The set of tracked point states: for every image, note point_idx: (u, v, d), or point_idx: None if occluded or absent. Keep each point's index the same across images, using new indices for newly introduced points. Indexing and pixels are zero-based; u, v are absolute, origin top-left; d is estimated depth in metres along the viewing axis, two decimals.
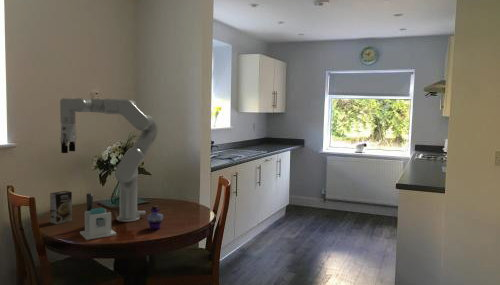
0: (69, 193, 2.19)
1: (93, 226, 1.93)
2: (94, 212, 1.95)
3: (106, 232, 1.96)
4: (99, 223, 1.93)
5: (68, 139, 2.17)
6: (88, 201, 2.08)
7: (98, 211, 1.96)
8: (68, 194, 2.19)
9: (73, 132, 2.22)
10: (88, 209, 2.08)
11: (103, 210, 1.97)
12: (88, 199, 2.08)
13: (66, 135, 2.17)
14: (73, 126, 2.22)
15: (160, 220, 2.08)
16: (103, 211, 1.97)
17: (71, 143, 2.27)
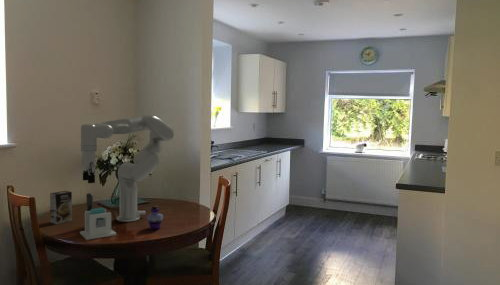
0: (69, 193, 2.19)
1: (93, 226, 1.93)
2: (94, 212, 1.95)
3: (106, 232, 1.96)
4: (99, 223, 1.93)
5: None
6: (88, 201, 2.08)
7: (98, 211, 1.96)
8: (68, 194, 2.19)
9: (83, 160, 2.06)
10: (88, 209, 2.08)
11: (103, 210, 1.97)
12: (88, 199, 2.08)
13: None
14: (83, 154, 2.06)
15: (160, 220, 2.08)
16: (103, 211, 1.97)
17: None
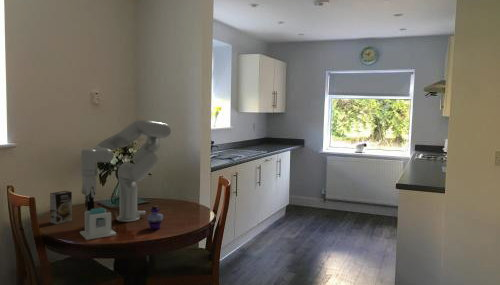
0: (69, 193, 2.19)
1: (93, 226, 1.93)
2: (94, 212, 1.95)
3: (106, 232, 1.96)
4: (99, 223, 1.93)
5: None
6: None
7: (98, 211, 1.96)
8: (68, 194, 2.19)
9: (83, 185, 2.07)
10: (88, 209, 2.08)
11: (103, 210, 1.97)
12: None
13: None
14: (83, 179, 2.07)
15: (160, 220, 2.08)
16: (103, 211, 1.97)
17: None
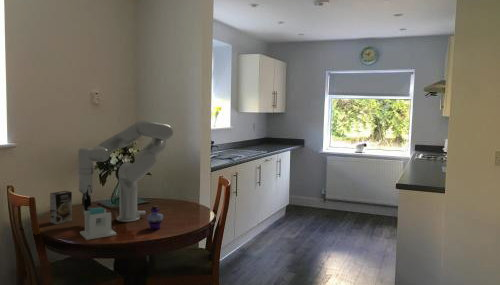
0: (69, 193, 2.19)
1: (93, 226, 1.93)
2: (93, 211, 1.96)
3: (106, 232, 1.96)
4: None
5: None
6: None
7: (97, 210, 1.97)
8: (68, 194, 2.19)
9: (80, 183, 2.12)
10: (85, 207, 2.13)
11: (102, 209, 1.99)
12: None
13: None
14: (80, 177, 2.12)
15: (160, 220, 2.08)
16: (102, 210, 1.99)
17: None
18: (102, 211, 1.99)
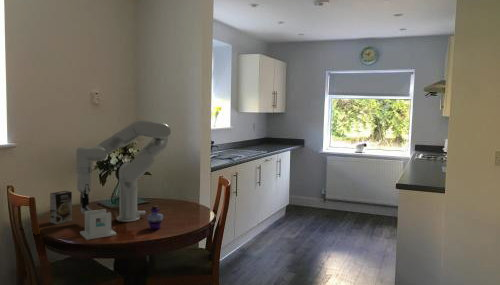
0: (69, 193, 2.19)
1: (93, 226, 1.93)
2: None
3: (106, 232, 1.96)
4: None
5: None
6: None
7: None
8: (68, 194, 2.19)
9: (78, 182, 2.15)
10: (83, 205, 2.16)
11: None
12: None
13: None
14: (78, 176, 2.15)
15: (160, 220, 2.08)
16: None
17: None
18: None
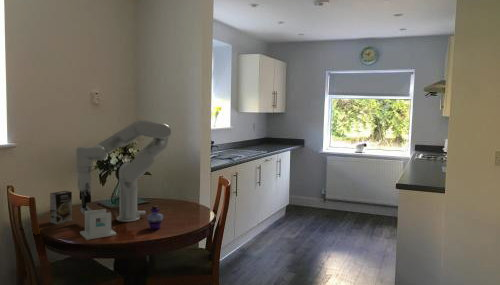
0: (69, 193, 2.19)
1: (93, 226, 1.93)
2: None
3: (106, 232, 1.96)
4: None
5: None
6: (83, 197, 2.16)
7: None
8: (68, 194, 2.19)
9: (79, 181, 2.15)
10: (83, 205, 2.16)
11: None
12: (83, 195, 2.16)
13: None
14: (79, 175, 2.15)
15: (160, 220, 2.08)
16: None
17: None
18: None
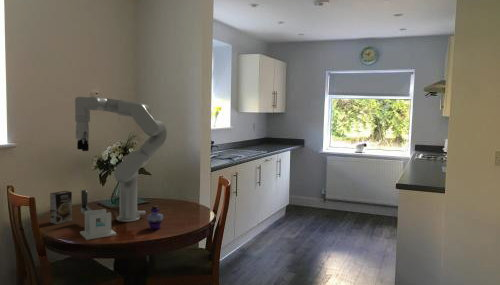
0: (69, 193, 2.19)
1: (93, 226, 1.93)
2: None
3: (106, 232, 1.96)
4: None
5: None
6: (83, 197, 2.16)
7: None
8: (68, 194, 2.19)
9: (77, 130, 2.22)
10: (83, 205, 2.16)
11: None
12: (83, 195, 2.16)
13: None
14: (77, 124, 2.22)
15: (160, 220, 2.08)
16: None
17: None
18: None
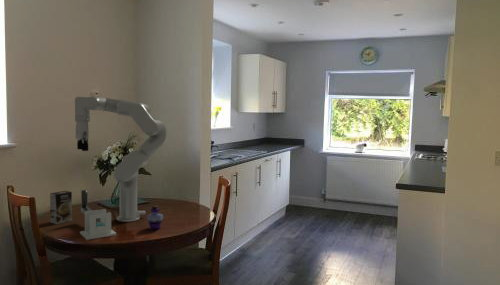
0: (69, 193, 2.19)
1: (93, 226, 1.93)
2: None
3: (106, 232, 1.96)
4: None
5: None
6: (83, 197, 2.16)
7: None
8: (68, 194, 2.19)
9: (77, 130, 2.22)
10: (83, 205, 2.16)
11: None
12: (83, 195, 2.16)
13: None
14: (77, 124, 2.22)
15: (160, 220, 2.08)
16: None
17: None
18: None
